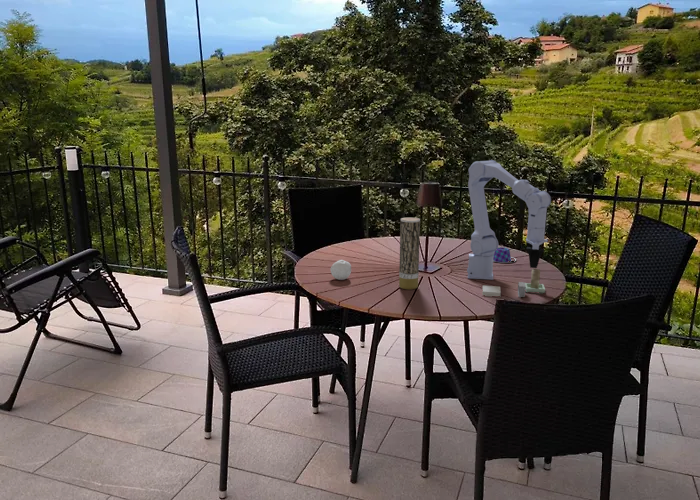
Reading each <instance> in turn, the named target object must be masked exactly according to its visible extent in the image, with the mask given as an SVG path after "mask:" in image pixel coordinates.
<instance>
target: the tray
mask: <svg viewBox="0 0 700 500" xmlns="http://www.w3.org/2000/svg"><path fill="white" fill-rule="evenodd" d="M525 286H526V287H525V290H526V291H525V293H528V292H539V293H538V294H543V293H545V294H546V288H545V285H544V283H539V289H537V288H531V282H529V283H528V282H525Z"/></svg>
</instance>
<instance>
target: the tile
mask: <svg viewBox="0 0 700 500" xmlns="http://www.w3.org/2000/svg"><path fill="white" fill-rule="evenodd" d="M482 290H483V291H482V293H481V294H482V295H485V296H484V297H492V296H500V297H501V295H502V294H501V293H502V291H501V286H496V285H495V286H493V285H482Z"/></svg>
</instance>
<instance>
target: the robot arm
mask: <svg viewBox="0 0 700 500" xmlns="http://www.w3.org/2000/svg"><path fill="white" fill-rule="evenodd" d="M468 177H469V178H468V183H467V184H468V186H467V187H468V192H469V198H470V199H469V200H470V204H471V213H472V218H473V224H474V225H473V226H474V231H473V233H472V234H471V236H470V239H471V240H470V241H471V242H470V250H471V252H472V253H469V254H468V265H467V266H468V267H467V270H466V272H467V279H475V280H490V281H491V280H492V281H493V280H494V273H493V272H494V271H493V267H494V260H493V256H494V254H495V251H496V250H497V248H499V241H498V239H497V237H496V233H495V231H494V230H492V229H491V227H490V221H489V215H488V207H487V200H486V195H485V187H486V184H487V183H488V182H490V180H492V179H494V178H495V179H497V180H499V181H500V182H502V183H504V184H505V185H506V186H508V187H510V188H511V190H512V193H513V194H514V195H515V196H517V197H518V198H519V199H520V200H522V201H524V202H525V203H526V207H527V208H528V209H527V211H528V212H527V213H528V219H527V228H526V229H527V233H526V238H525V241H526V242H525V244H526V251H527V253H528V259H529V261H528V262H529V267H530V268H531V269H538V266H539V261H540V258H541V256H542V255H543V253H544V251H545V249H544V248H542V246H543V244H544V243H548V242H549V241H548V239H547V238H546V239H545V232H546V222H547V220H546V219H547V211H548V210H547V209H548V207H550V205H551V203H552V202H551V201H552V197H551V195H550V194H549V193H548V192H547V191H545V190H542V191H541V190H540V189H539V188H538V187H535V186H533V185H532V184H530V181H529V180H527V179H518V178H516V177H515V176H513V175H512V174H511V173H510V172H508V171H507V170H506V169H505V168H504V167H503V166H502V164H501V163H499V162H497V161H496V160H493V159H489V160H480V161H478V160H477V161H473V163H472V164H471V165H470V166H469V168H468Z"/></svg>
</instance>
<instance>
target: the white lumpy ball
mask: <svg viewBox="0 0 700 500" xmlns="http://www.w3.org/2000/svg"><path fill="white" fill-rule="evenodd" d="M351 272H352V265H351V263H350V262H349V261H346V260H344V259H338V260H337V261H335V262H334V263H332V265H331V266H330V275H332V277H333V278H334V279H336V280H339V281H344V280H347V279H348V278H349V277H350V275H351Z"/></svg>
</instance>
